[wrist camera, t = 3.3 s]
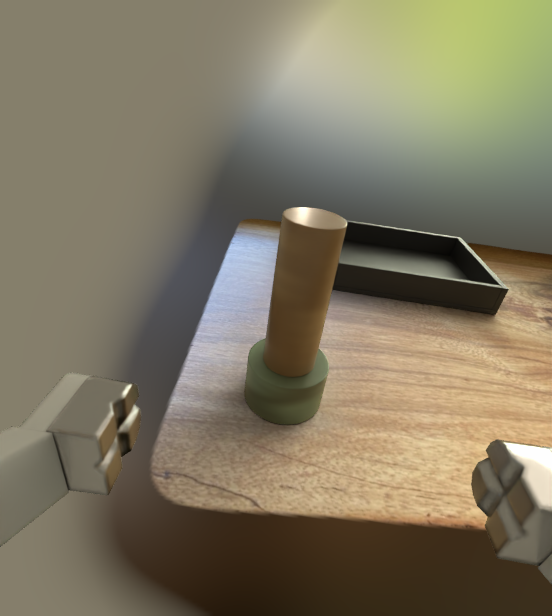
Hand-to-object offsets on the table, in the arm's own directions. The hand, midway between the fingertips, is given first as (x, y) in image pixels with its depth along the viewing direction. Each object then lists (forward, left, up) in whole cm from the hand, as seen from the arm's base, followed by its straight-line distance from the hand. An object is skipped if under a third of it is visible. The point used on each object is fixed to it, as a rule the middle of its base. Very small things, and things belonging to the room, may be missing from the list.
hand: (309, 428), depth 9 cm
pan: (+12, +35, -11) cm, 39 cm away
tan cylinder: (0, +12, -11) cm, 16 cm away
